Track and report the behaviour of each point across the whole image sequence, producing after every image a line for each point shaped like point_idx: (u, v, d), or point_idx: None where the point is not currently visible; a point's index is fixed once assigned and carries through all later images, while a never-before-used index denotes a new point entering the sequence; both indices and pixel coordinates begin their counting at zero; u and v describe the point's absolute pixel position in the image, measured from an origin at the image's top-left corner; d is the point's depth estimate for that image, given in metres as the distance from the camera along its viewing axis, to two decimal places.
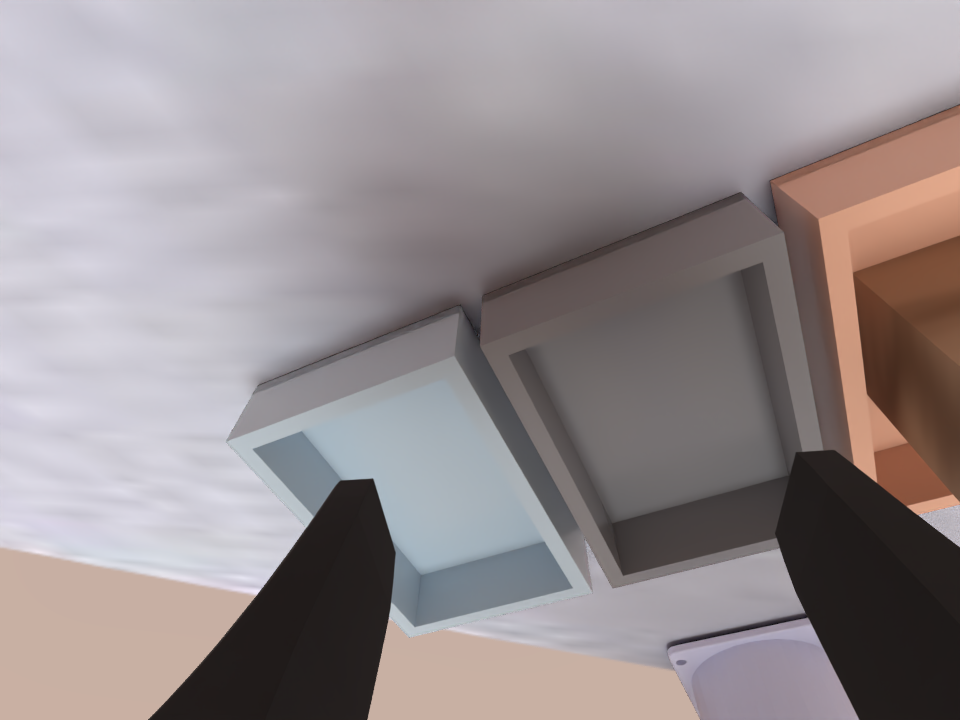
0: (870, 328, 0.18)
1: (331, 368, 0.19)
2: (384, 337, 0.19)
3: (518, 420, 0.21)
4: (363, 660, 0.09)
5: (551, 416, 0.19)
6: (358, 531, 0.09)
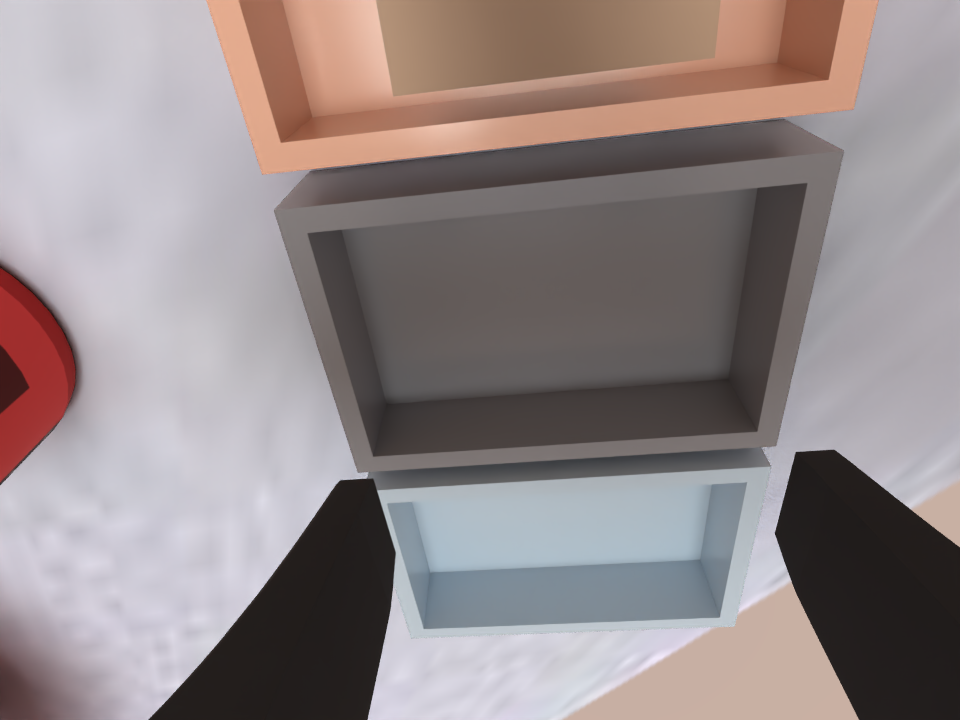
0: None
1: None
2: None
3: None
4: (363, 660, 0.09)
5: (498, 417, 0.18)
6: (359, 531, 0.09)
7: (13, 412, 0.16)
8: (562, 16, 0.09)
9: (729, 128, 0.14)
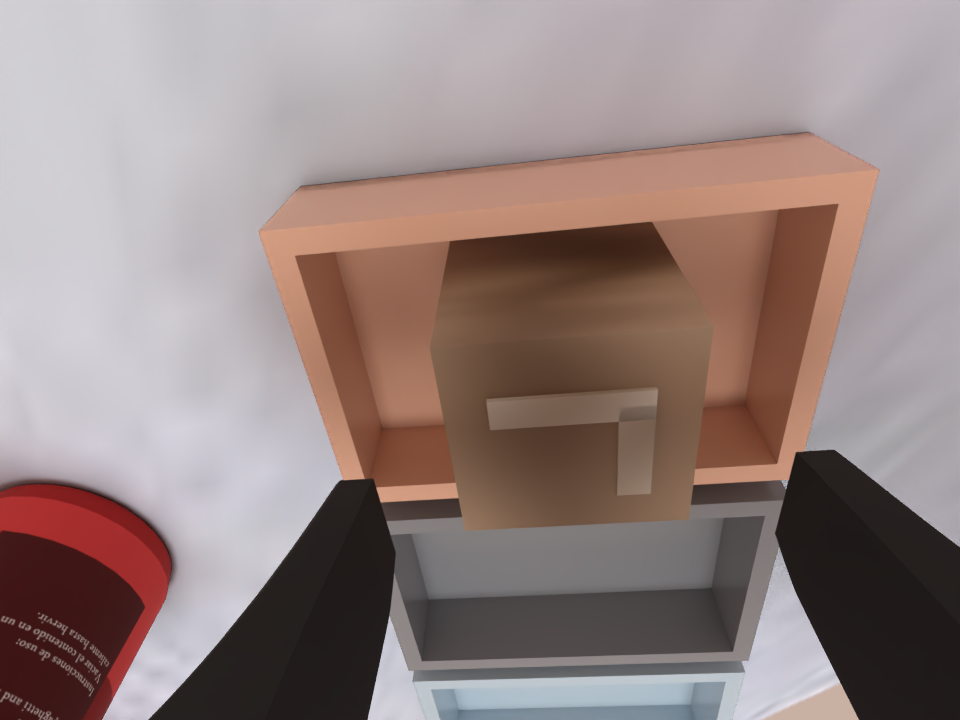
0: None
1: None
2: None
3: None
4: (364, 660, 0.09)
5: (522, 622, 0.22)
6: (358, 531, 0.09)
7: (135, 632, 0.20)
8: (584, 500, 0.13)
9: None
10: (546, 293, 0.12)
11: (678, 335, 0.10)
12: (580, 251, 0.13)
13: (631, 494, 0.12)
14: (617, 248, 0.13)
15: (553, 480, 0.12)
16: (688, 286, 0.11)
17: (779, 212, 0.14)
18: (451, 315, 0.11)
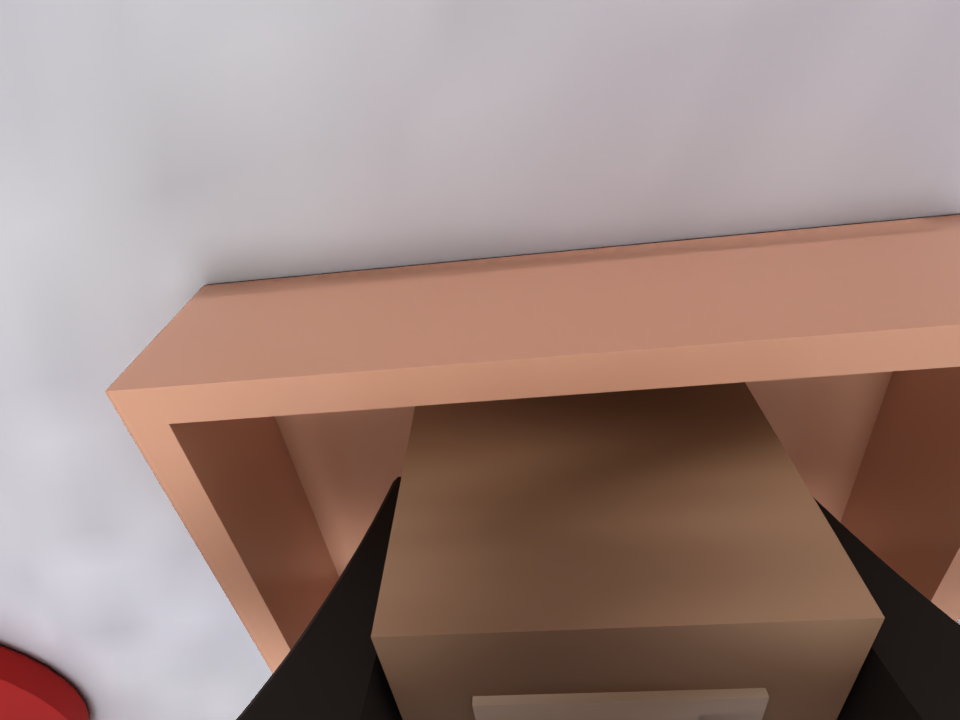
0: None
1: None
2: None
3: None
4: None
5: None
6: None
7: None
8: None
9: None
10: (572, 497, 0.07)
11: (815, 629, 0.06)
12: (618, 399, 0.09)
13: None
14: (675, 395, 0.09)
15: None
16: (810, 498, 0.07)
17: None
18: (414, 544, 0.07)
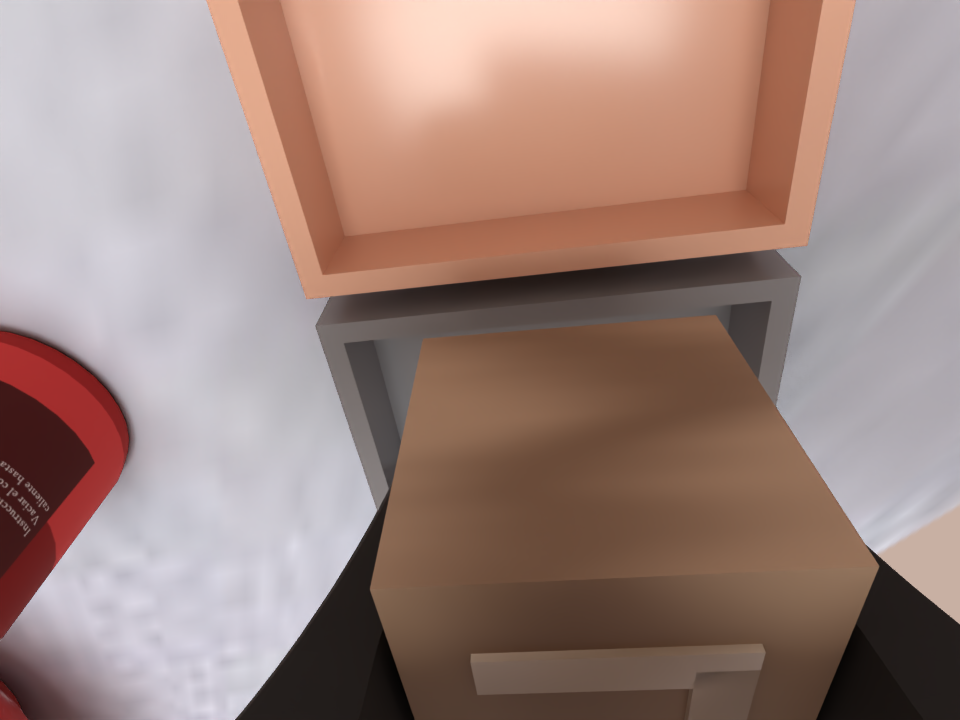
0: None
1: None
2: None
3: None
4: None
5: None
6: None
7: (82, 486, 0.19)
8: None
9: None
10: (569, 459, 0.07)
11: (811, 578, 0.06)
12: (616, 370, 0.09)
13: None
14: (672, 366, 0.09)
15: None
16: (806, 458, 0.07)
17: None
18: (412, 504, 0.07)
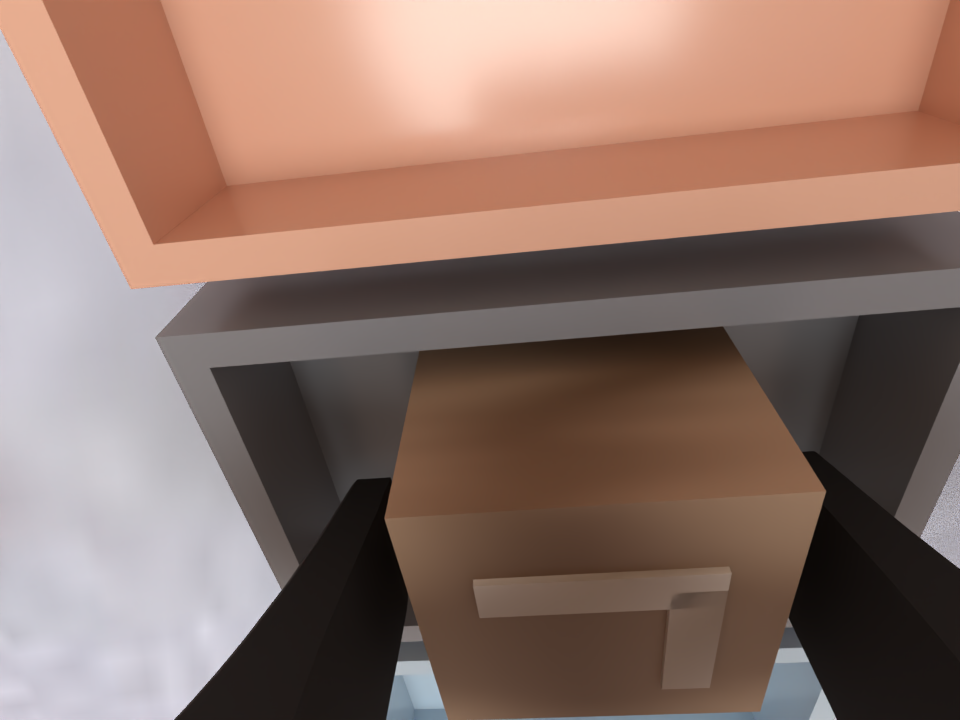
0: None
1: None
2: None
3: None
4: (382, 660, 0.09)
5: None
6: (378, 530, 0.09)
7: None
8: (614, 690, 0.09)
9: None
10: (560, 411, 0.08)
11: (767, 504, 0.07)
12: None
13: (680, 685, 0.09)
14: None
15: (571, 669, 0.09)
16: (770, 406, 0.08)
17: None
18: (420, 450, 0.08)
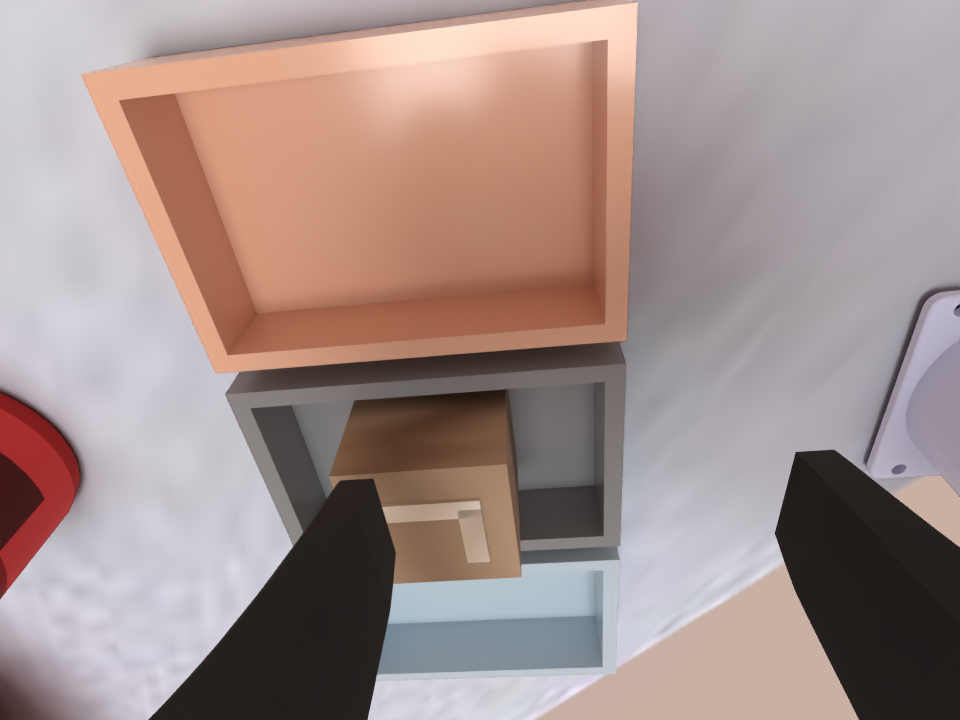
0: None
1: None
2: None
3: None
4: (363, 659, 0.09)
5: None
6: (358, 532, 0.09)
7: (32, 520, 0.21)
8: (447, 565, 0.18)
9: None
10: (414, 429, 0.17)
11: (485, 469, 0.16)
12: None
13: (478, 561, 0.18)
14: None
15: (424, 552, 0.18)
16: (504, 428, 0.17)
17: (593, 77, 0.15)
18: (348, 448, 0.17)
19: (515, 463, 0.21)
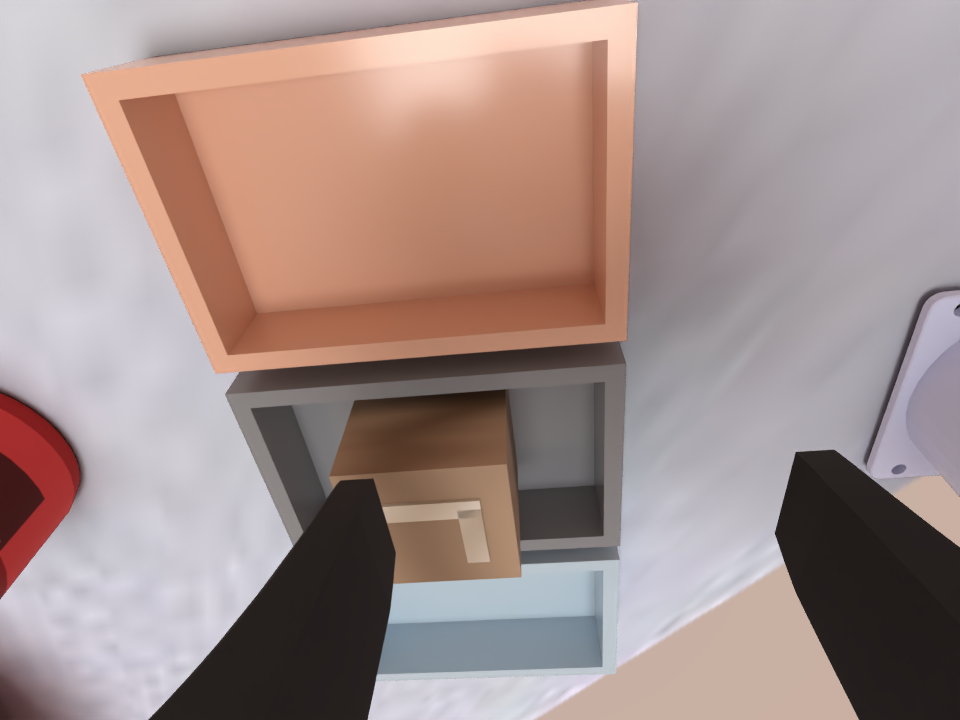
0: None
1: None
2: None
3: None
4: (363, 659, 0.09)
5: None
6: (358, 532, 0.09)
7: (32, 520, 0.21)
8: (447, 565, 0.18)
9: None
10: (414, 429, 0.17)
11: (485, 470, 0.16)
12: None
13: (478, 561, 0.18)
14: None
15: (424, 552, 0.18)
16: (504, 428, 0.17)
17: (593, 77, 0.15)
18: (348, 448, 0.17)
19: (515, 463, 0.21)
